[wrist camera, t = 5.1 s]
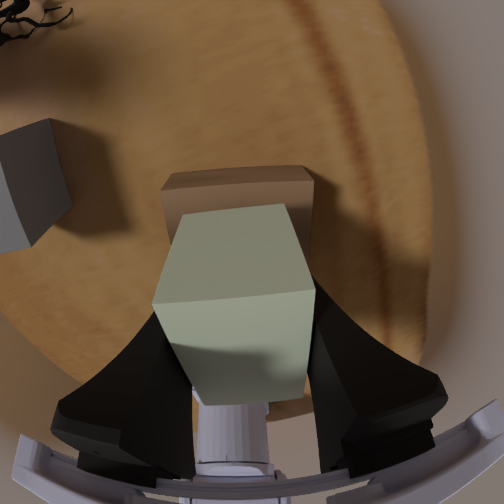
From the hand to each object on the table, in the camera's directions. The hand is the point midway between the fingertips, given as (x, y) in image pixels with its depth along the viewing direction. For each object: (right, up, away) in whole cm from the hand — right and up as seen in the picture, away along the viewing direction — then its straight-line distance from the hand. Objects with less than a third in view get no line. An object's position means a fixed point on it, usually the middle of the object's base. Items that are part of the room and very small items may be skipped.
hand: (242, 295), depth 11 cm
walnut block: (0, +4, +5) cm, 6 cm away
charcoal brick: (-13, +7, +2) cm, 15 cm away
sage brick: (0, +1, +1) cm, 2 cm away
